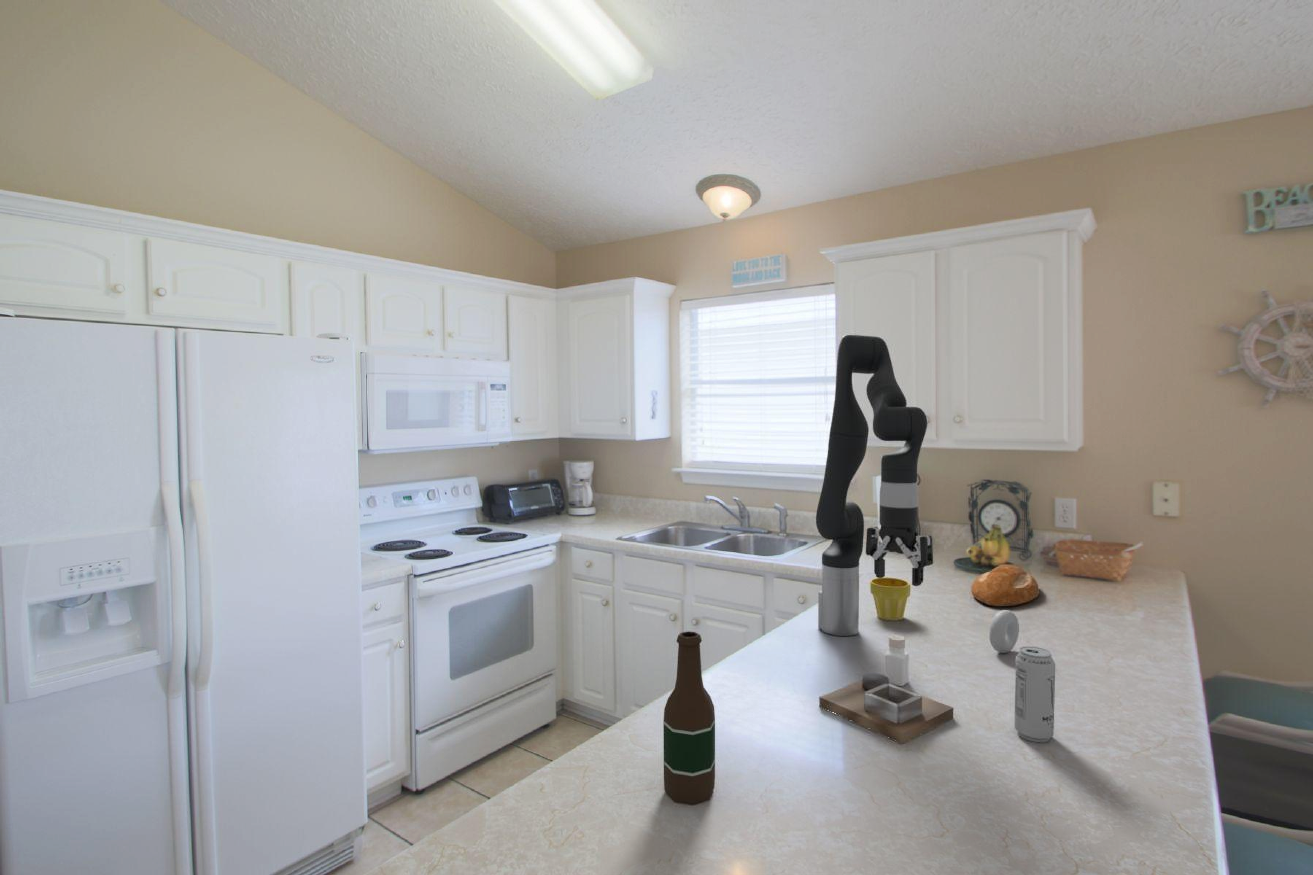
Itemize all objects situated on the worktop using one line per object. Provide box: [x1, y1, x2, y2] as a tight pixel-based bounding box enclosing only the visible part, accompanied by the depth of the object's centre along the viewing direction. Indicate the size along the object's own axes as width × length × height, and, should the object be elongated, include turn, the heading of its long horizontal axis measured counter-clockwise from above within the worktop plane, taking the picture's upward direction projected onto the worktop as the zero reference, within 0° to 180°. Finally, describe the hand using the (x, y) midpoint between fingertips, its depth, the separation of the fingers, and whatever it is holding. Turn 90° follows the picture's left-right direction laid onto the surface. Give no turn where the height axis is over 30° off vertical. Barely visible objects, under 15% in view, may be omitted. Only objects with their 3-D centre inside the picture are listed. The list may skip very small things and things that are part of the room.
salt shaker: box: [884, 634, 910, 687], centre depth 142 cm, size 4×4×10 cm
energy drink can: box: [1013, 646, 1056, 743], centre depth 119 cm, size 6×6×15 cm
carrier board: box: [818, 672, 954, 745], centre depth 128 cm, size 18×16×5 cm
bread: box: [970, 564, 1040, 607], centre depth 207 cm, size 18×35×9 cm, turn 141°
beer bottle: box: [662, 631, 716, 806], centre depth 102 cm, size 8×8×24 cm
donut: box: [989, 609, 1020, 654], centre depth 159 cm, size 10×4×10 cm, turn 128°
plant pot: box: [869, 576, 911, 621], centre depth 185 cm, size 10×10×10 cm
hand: (897, 581), depth 141 cm, fingers open, 8 cm apart
